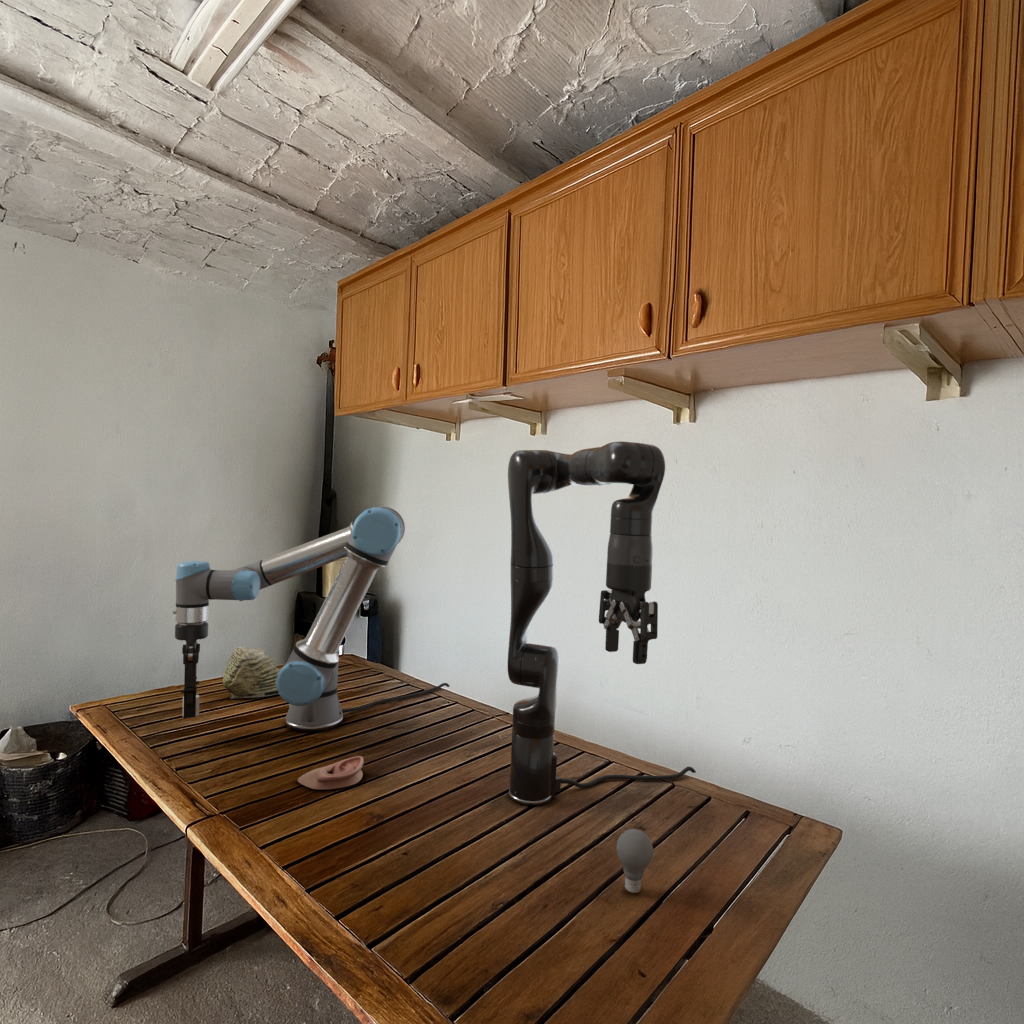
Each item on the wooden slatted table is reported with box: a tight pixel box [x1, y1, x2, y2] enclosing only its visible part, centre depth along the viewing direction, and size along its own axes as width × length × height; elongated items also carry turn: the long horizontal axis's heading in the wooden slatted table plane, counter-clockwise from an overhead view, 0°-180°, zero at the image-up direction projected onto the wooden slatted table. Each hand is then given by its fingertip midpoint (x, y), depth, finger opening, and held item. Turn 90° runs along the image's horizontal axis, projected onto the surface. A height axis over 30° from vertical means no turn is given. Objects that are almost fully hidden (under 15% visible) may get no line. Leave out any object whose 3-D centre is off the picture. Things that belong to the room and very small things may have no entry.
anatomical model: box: [297, 755, 364, 791], centre depth 142 cm, size 13×4×12 cm
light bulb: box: [615, 828, 654, 894], centre depth 106 cm, size 6×6×10 cm
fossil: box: [222, 646, 280, 699], centre depth 198 cm, size 9×18×15 cm, turn 132°
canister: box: [182, 693, 200, 717], centre depth 161 cm, size 4×4×5 cm
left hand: (189, 714), depth 161 cm, fingers closed on canister, 4 cm apart
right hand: (624, 657), depth 107 cm, fingers open, 8 cm apart
